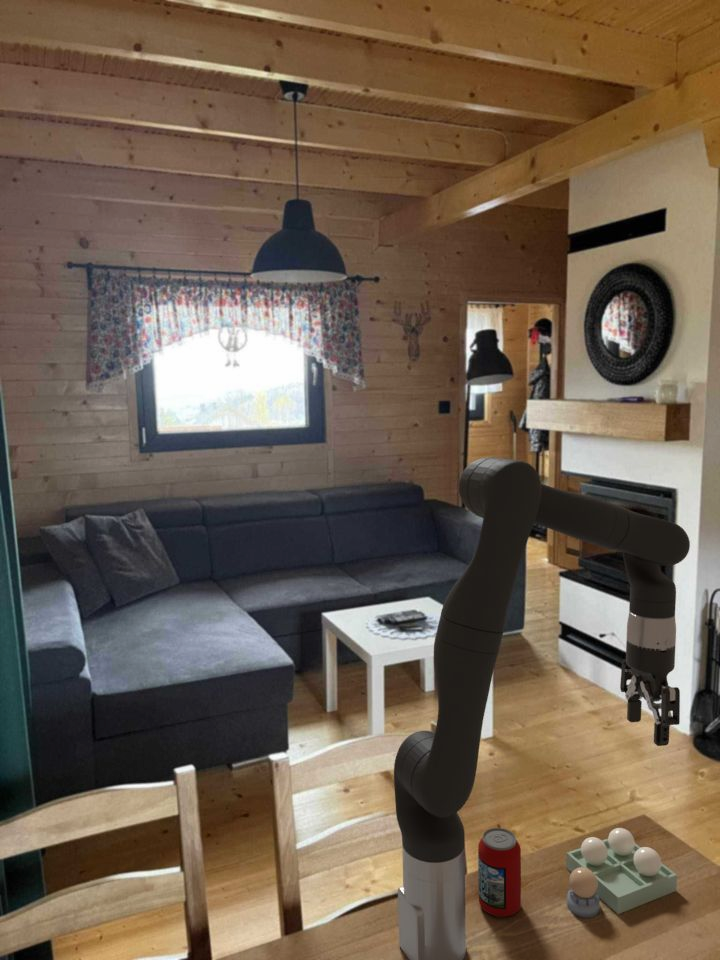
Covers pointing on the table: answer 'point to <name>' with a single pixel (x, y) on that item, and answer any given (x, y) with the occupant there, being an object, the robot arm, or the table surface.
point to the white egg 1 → (594, 851)
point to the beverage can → (499, 872)
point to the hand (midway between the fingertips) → (647, 732)
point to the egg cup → (583, 905)
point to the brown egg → (583, 882)
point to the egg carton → (624, 880)
